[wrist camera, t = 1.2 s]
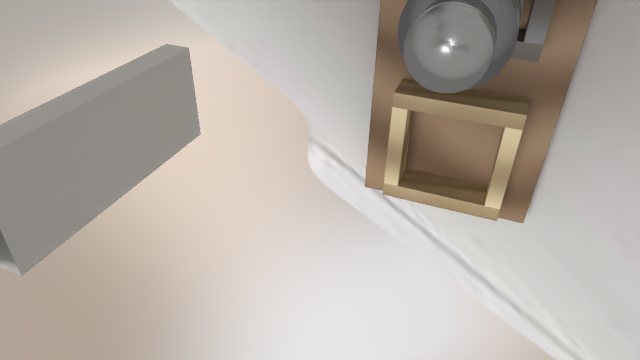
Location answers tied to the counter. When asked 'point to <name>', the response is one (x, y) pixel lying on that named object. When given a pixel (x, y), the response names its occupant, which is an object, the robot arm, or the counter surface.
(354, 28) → the counter surface
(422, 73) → the grey cylinder
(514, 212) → the tool stand
